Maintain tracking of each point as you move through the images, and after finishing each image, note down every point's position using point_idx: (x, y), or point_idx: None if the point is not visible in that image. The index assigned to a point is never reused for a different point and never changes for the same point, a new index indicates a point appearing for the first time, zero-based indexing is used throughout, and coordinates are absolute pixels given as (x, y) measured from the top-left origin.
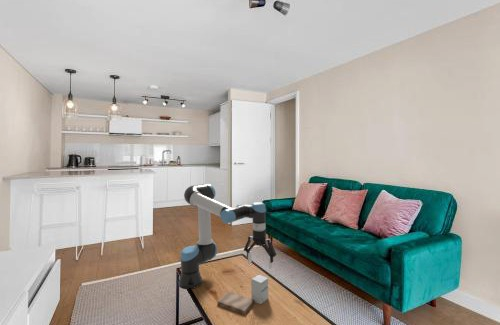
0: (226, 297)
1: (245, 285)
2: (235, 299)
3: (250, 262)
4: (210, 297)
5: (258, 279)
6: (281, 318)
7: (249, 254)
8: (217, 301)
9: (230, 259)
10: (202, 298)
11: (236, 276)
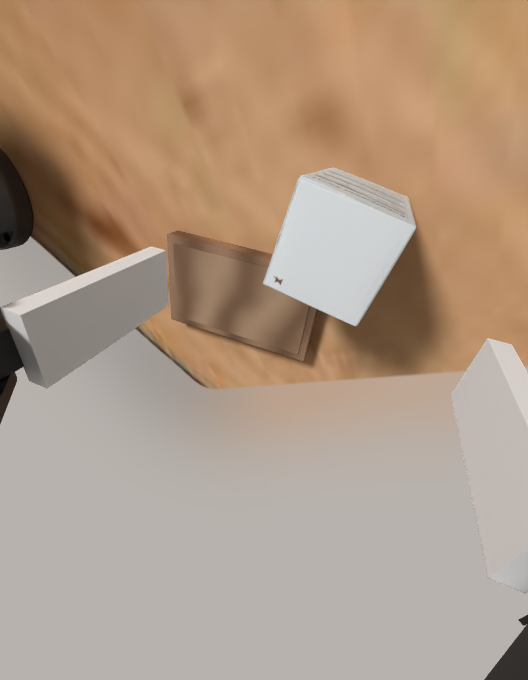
0: (187, 287)
1: (209, 78)
2: (231, 293)
3: (163, 278)
4: None
5: (322, 282)
6: None
7: (69, 359)
8: (172, 318)
9: None
10: None
11: None
